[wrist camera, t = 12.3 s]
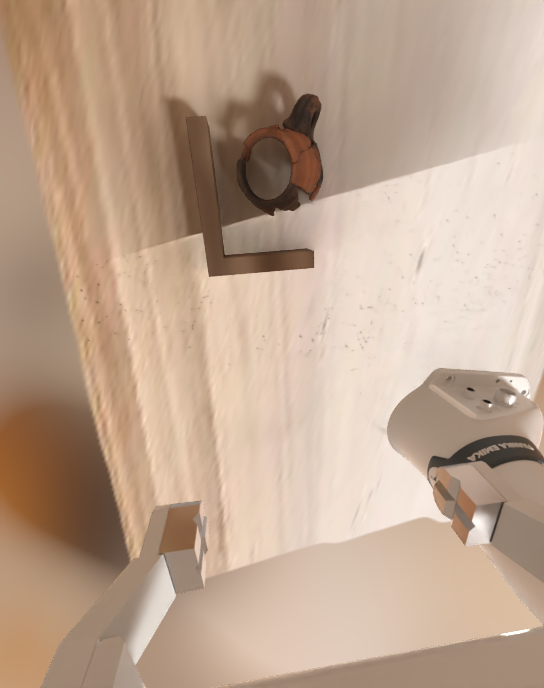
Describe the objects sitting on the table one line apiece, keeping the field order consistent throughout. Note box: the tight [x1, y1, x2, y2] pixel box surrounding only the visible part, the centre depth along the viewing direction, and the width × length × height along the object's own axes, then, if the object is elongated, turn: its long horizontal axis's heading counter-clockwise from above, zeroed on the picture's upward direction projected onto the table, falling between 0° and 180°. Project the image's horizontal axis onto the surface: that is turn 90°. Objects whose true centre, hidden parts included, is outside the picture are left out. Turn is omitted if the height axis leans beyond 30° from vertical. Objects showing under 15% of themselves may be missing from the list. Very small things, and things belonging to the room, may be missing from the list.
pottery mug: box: [237, 94, 323, 216], centre depth 34 cm, size 12×9×8 cm
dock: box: [186, 116, 314, 277], centre depth 36 cm, size 13×16×4 cm
